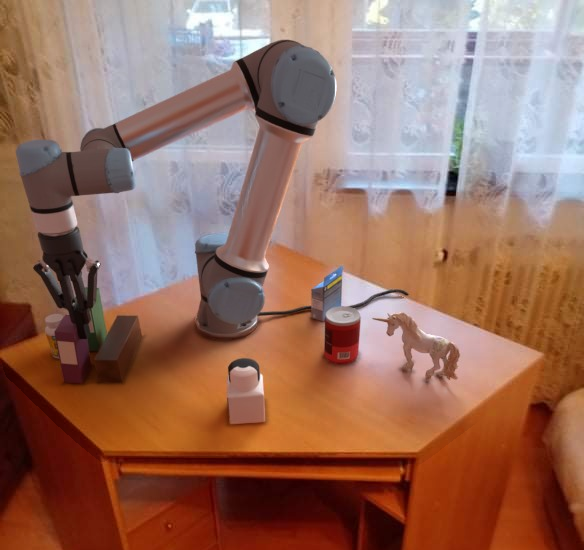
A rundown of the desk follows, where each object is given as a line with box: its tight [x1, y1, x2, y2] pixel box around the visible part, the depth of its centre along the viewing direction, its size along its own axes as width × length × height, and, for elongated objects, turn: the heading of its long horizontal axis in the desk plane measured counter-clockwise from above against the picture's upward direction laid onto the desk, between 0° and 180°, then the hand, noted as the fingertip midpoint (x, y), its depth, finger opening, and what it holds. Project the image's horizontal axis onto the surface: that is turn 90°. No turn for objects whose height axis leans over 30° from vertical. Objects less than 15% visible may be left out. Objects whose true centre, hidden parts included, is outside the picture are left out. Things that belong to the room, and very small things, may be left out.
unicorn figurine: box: [371, 311, 461, 381], centre depth 128 cm, size 7×20×13 cm, turn 68°
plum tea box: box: [54, 314, 92, 384], centre depth 128 cm, size 4×7×13 cm, turn 179°
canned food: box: [323, 305, 362, 366], centre depth 134 cm, size 8×8×11 cm
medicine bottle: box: [226, 357, 266, 425], centre depth 117 cm, size 7×7×12 cm
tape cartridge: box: [310, 264, 344, 322], centre depth 149 cm, size 9×4×12 cm, turn 144°
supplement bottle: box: [44, 313, 64, 360], centre depth 136 cm, size 5×5×10 cm
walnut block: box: [93, 315, 143, 384], centre depth 135 cm, size 5×19×6 cm, turn 178°
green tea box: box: [74, 286, 108, 352], centre depth 138 cm, size 4×7×13 cm, turn 179°
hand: (85, 335), depth 126 cm, fingers closed
